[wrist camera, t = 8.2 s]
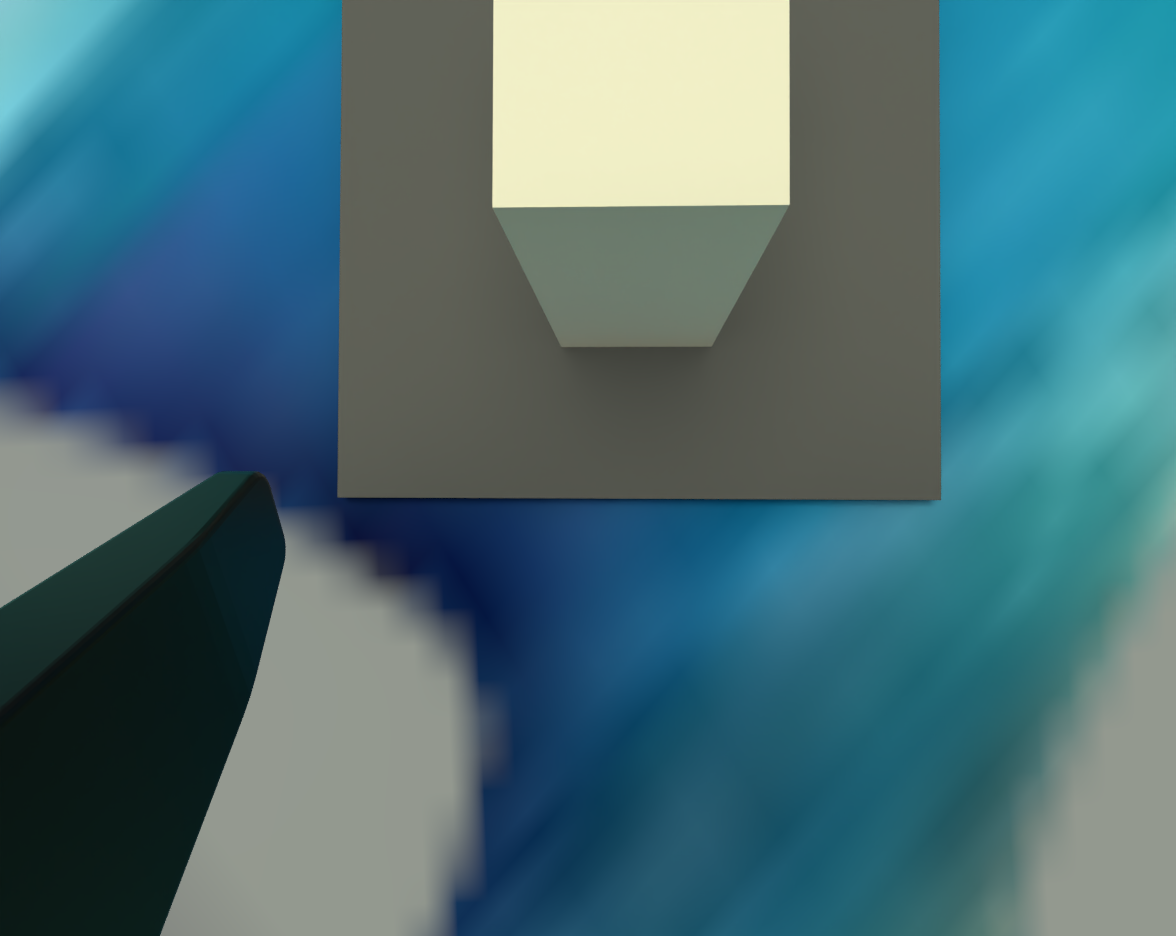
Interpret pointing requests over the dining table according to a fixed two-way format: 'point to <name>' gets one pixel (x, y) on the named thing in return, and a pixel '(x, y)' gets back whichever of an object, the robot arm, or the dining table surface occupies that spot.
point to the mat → (640, 374)
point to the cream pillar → (640, 159)
